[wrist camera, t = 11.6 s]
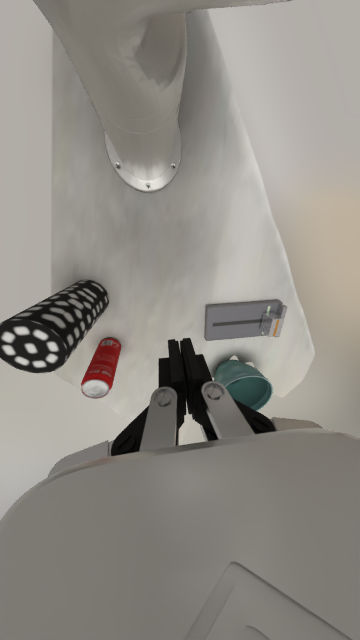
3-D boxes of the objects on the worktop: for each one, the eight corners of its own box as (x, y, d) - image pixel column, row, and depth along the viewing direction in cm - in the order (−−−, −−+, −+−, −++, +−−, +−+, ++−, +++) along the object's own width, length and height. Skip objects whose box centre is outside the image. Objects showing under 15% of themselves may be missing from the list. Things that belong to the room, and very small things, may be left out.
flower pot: (201, 358, 51) (211, 386, 41) (251, 344, 50) (273, 369, 41) (209, 392, 58) (219, 422, 48) (253, 380, 58) (272, 408, 48)
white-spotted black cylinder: (112, 312, 41) (75, 370, 23) (77, 314, 40) (11, 376, 22) (104, 279, 37) (54, 316, 19) (65, 280, 36) (-25, 321, 18)
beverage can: (95, 341, 44) (67, 386, 30) (117, 332, 43) (98, 374, 30) (107, 357, 46) (86, 405, 33) (128, 349, 46) (115, 394, 33)
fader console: (205, 305, 43) (210, 311, 39) (277, 299, 44) (287, 305, 41) (204, 337, 47) (208, 345, 43) (269, 331, 49) (278, 338, 45)
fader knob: (263, 312, 43) (273, 319, 39) (273, 312, 43) (284, 318, 40) (259, 329, 45) (268, 337, 42) (269, 328, 45) (279, 336, 42)
